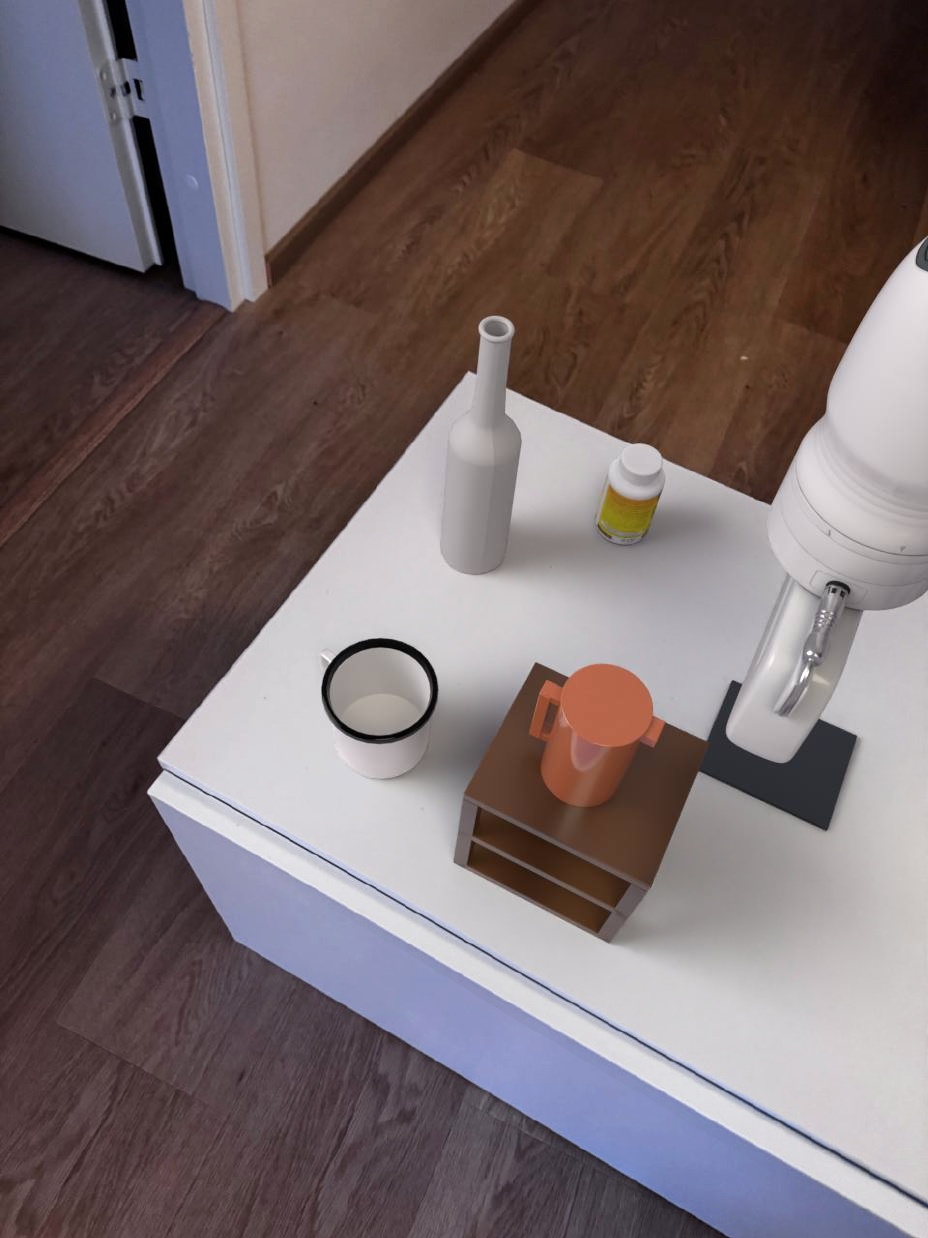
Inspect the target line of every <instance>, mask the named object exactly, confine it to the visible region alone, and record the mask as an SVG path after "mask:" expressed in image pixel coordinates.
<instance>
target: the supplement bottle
mask: <svg viewBox="0 0 928 1238" xmlns="http://www.w3.org/2000/svg"><path fill="white" fill-rule="evenodd" d="M663 464H664V460H663V456H662V454H661V452H660V451H658V449H657V448H655V447H654V446H651V445H650V444H646V443H641V442H640V443H632V444H630V445H628V446H626V447H625V448H624V449H623V451H622V452H621V455H619V456H618V457H616V458H615V459H614V460H612V462H611V463H610V465H609V467H608V470H607V473H606V476H605V479H604V484H603V488H602V491H601V494H600V497H599V501H598V505H597V509H596V513H595V518H594V520H595V526H596V530H597V531H598V533H599V534H600V535H601V536H602V537H603V538H605V539H606V540H607V541H608V542H611V543H613V544H617V545H623V546H624V545H628V546H629V545H632V544H636V543H638V542H640V541H641V540H642V539H644V538H645V537H646V535H647V533H648V532H649V529H650V526H651V524H652V521H653V518H654V515H655V513H656V510H657V507H658V504H659V501H660V498H661V497H662V493H663V490H664V487H665V484H666V474H665V471H664V469H663Z"/></svg>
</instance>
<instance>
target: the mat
mask: <svg viewBox="0 0 928 1238" xmlns="http://www.w3.org/2000/svg"><path fill="white" fill-rule="evenodd" d="M742 684H743V683H741V682H739V681H737V680H734V679H732V680H731V681H730V683H729V686H728V688H727V690H726V693H725V696H724V697H723V700H722V703H721V705H720V708H719V710H718V713H717V714H716V717H715V720H714V723H713V725H712V727H711V730H710V732H709V734H708V737H707V739H706V741H707V742H709V746H708V749H707V751H706V754H705V756H704V759H703V761H702V764H701V766H700V769H699V771H698V772H700V773H702V774H703V775H706V776H709V777H711V778H713V779H714V780H716V781H719V782H721V783H723V784H725V785H727V786H730V787H731V788H733V789H735V790H738V791H740V792H742V793H744V794H746V795H749V796H751V797H753V798H755V799H757V800H758V801H761V802H763V803H765V804H768V805H770V806H771V807H774V808H776V809H777V810H780V811H782V812H785V814H786V813H787V814H788V815H790V816H793V817H795V818H798V819H799V820H802V821H804V822H806V823H808V824H810V825H812V826H814V827H815V828H818V829H821V830H822V831H825V832H827V831H828V830H829V829H830V824H831V822H832V819H833V815H834V812H835V809H836V806H837V803H838V799H839V796H840V793H841V791H842V790H841V789H842V787H843V783H844V780H845V778H846V775H847V771H848V768H849V764H850V762H851V758H852V755H853V752H854V749H855V746H856V742H857V740H858V735H856V734H854V733H853V732H850V731H848V730H846V729H843V728H841V727H839V726H836V725H834V724H832V723H830V722H828V721H825V720H823V719H821V718H819V719H818V721H817V722H816V724H815V725H814V727H813V728H812V730H811V731H810V733H809V734H808V736H807V737H806V739H805V740H804V742H803V743H802V745H801V746H800V748H799V749H798V751H797V752H796V753H795V755H794V756H793V757H792V759H791V760H789V761H788V762H786V763H777V762H773V761H770V760H767V759H765V758H762V757H760V756H757V755H755V754H753V753H751V752H749V751H747V750H744V749H743V748H741V747H739V746H737V745H735V744H734V743H733V742H731V741H730V740H729V739H728V737H727V735H726V726H727V722H728V719H729V717H730V714H731V712H732V709H733V707H734V704H735V702H736V699H737V697H738V694H739V692H740V689H741V687H742Z"/></svg>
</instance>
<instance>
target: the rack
mask: <svg viewBox="0 0 928 1238" xmlns="http://www.w3.org/2000/svg"><path fill="white" fill-rule="evenodd" d="M569 677H570V676H567V675H566V674H563V673H561V672H559V671H557V670H555V669H552V668H550V667H548V666H546V665H544V664H542V663H540V662H537V661H535V662H534V664H533V666H532V668H531V669H530V671H529V673H528V675H527V676H526V679H525V680H524V682H523V683H522V685H521V688H520V689H519V691H518V693H517V695H516V697H515V698H514V700H513V702H512V704H511V706H510V708H509V709H508V711H507V713H506V715H505V717H504V719H503V720H502V722H501V723H500V726H499V728H498V729H497V732H496V733H495V735H494V737H493V738H492V740H491V743H490V744H489V745H488V748H487V750H486V752H485V753H484V755H483V757H482V759H481V760H480V762H479V764H478V766H477V768H476V769H475V772H474V773H473V774H472V777H471V779H470V781H469V782H468V784H467V786H466V788H465V790H464V791H463V797H462V803H461V808H460V815H459V820H458V821H459V822H458V828H457V835H456V841H455V847H454V854H453V860H452V861H453V863H454V864H455V865H457V866H459V867H460V868H462V869H465V870H466V871H468V872H471V873H473V874H474V875H477V876H478V877H479V878H482V879H484V880H486V881H488V882H490V883H492V884H494V885H495V886H497V887H499V888H501V889H504V891H506V892H509V893H511V894H512V895H515V896H517V897H518V898H521V899H523V900H524V901H526V902H528V903H530V904H532V905H534V906H536V907H538V908H540V909H541V910H544V911H545V912H547V913H550V914H551V915H553V916H555V917H557V918H559V919H560V920H563V921H565V922H567V923H568V924H571V925H573V926H574V927H576V928H578V929H580V930H582V931H584V932H585V933H588V934H590V935H592V936H594V937H596V938H597V939H599V940H601V941H603V942H605V943H607V944H611V942H612V941H613V940H614V938H615V937H616V936H617V934H618V933H619V932H620V930H621V929H622V927H624V925H625V924H626V922H627V921H628V919H629V918H630V917H631V915H632V914H633V912H634V911H635V910H636V909H637V907H638V906H639V904H640V903H641V902H642V900H643V899H644V898H645V896H647V893H648V892H649V891H650V889H651V888H652V886H653V883H654V882H655V879H656V876H657V874H658V872H659V868H660V866H661V864H662V862H663V859H664V857H665V855H666V852H667V849H668V847H669V844H670V842H671V840H672V837H673V834H674V832H675V830H676V827H677V825H678V822H679V820H680V817H681V815H682V812H683V810H684V807H685V805H686V803H687V800H688V798H689V795H690V793H691V791H692V788H693V785H694V783H695V781H696V778H697V776H698V773H699V772H700V771H699V769H700V766H701V764H702V761H703V759H704V756H705V754H706V751H707V749H708V746H709V742H707V740H705V739H703V738H701V737H699V736H696V735H694V734H692V733H690V732H688V731H686V730H683V729H681V728H679V727H677V726H675V725H672V724H670V723H668V722H666V723H665V725H664V728H663V730H662V732H661V734H660V737H659V739H658V741H657V743H656V745H655V747H651V746H648V745H646V744H644V743H642V742H641V744H640V746H639V748H638V750H637V752H636V754H635V756H634V758H633V760H632V762H631V764H630V766H629V768H628V770H627V772H626V774H625V776H624V778H623V780H622V782H621V784H620V786H619V788H618V790H617V792H616V793H615V794H614V795H613V796H612V797H611V798H610V799H609V800H607V801H606V802H604V803H602V804H600V805H597V806H593V807H578V806H573V805H570V804H568V803H565V802H563V801H562V800H560V799H559V798H557V797H556V796H555V795H554V794H553V793H552V792H551V791H550V790H549V789H548V787H547V785H546V784H545V782H544V779H543V776H542V773H541V759H542V755H543V752H544V748H545V745H546V741H544V740H542V739H540V738H536V737H534V736H532V735H530V734H529V731H530V727H531V723H532V719H533V716H534V712H535V708H536V704H537V700H538V697H539V693H540V691H541V689H542V687H543V686H544V684H545V682H546V680H548V681H551V682H553V683H555V684H557V685H558V686H560V687H562V688H563V687H564V685H565V683H566V681H567V680H568V679H569ZM556 709H557V706H556V705H554V704H552V706H551V709H550V713H549V716H548V720H547V723H549V724H551V725H552V722H553V719H554V715H555V712H556Z"/></svg>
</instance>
